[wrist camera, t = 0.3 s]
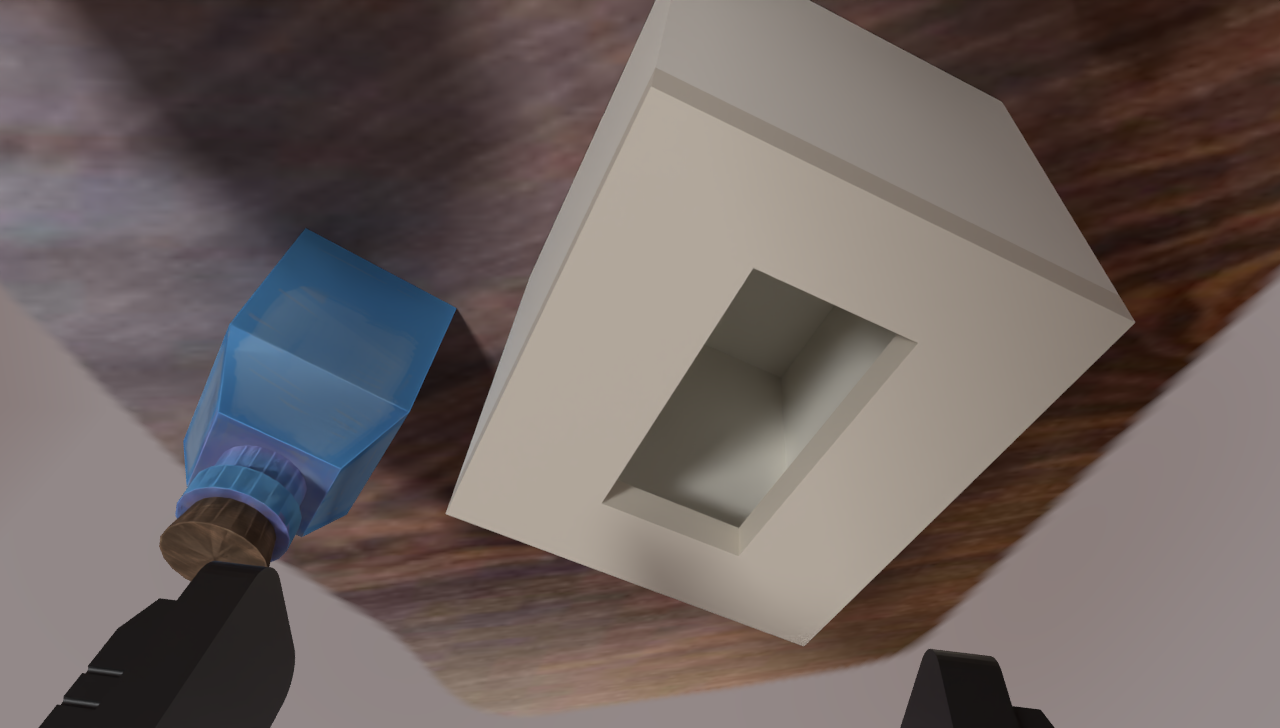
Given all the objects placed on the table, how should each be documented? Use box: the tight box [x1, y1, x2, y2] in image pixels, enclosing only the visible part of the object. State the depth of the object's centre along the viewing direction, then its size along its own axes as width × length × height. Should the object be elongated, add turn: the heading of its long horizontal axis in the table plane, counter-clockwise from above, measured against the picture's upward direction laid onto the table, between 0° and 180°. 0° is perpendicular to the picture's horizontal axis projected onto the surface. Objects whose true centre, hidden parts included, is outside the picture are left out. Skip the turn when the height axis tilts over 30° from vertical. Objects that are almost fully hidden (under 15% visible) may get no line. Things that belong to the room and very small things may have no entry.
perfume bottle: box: [159, 228, 457, 581], centre depth 31 cm, size 6×6×12 cm
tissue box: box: [446, 0, 1135, 646], centre depth 26 cm, size 13×11×12 cm
